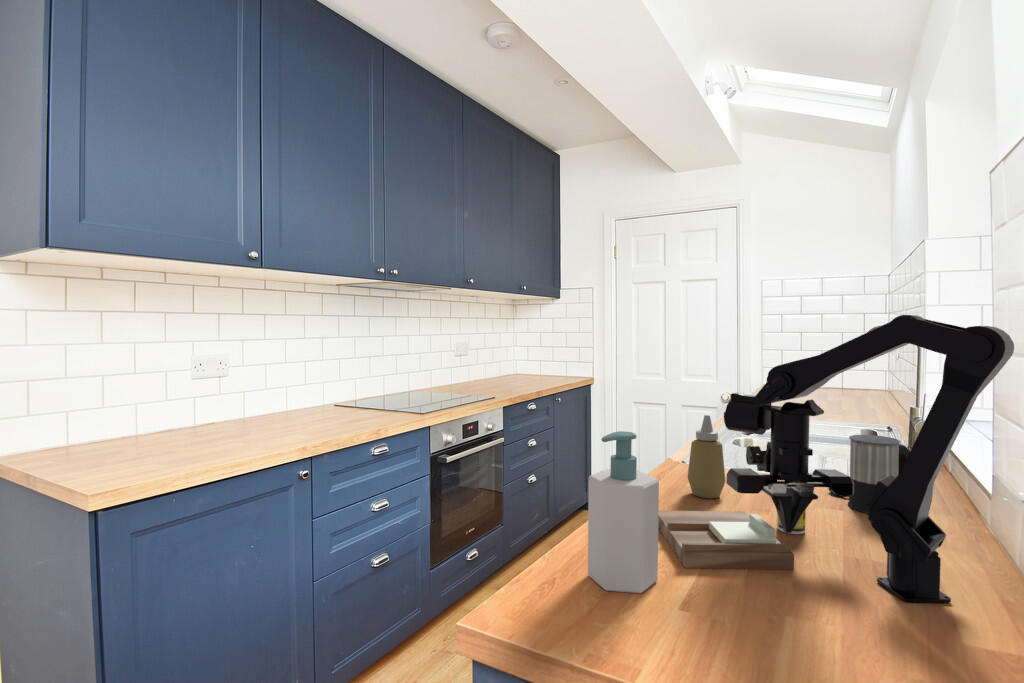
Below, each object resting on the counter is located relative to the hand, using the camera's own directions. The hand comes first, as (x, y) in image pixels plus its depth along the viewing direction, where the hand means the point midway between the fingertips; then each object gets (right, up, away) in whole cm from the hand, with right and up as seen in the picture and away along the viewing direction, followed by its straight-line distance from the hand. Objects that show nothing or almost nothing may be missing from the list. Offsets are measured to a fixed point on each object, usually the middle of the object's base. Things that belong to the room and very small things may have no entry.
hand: (787, 532), depth 94 cm
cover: (-8, -1, 0) cm, 8 cm away
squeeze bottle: (-2, -3, +32) cm, 32 cm away
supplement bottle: (+6, -4, +11) cm, 13 cm away
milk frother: (+29, -3, +27) cm, 40 cm away
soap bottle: (-29, -4, -9) cm, 31 cm away
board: (-10, -4, +4) cm, 12 cm away
